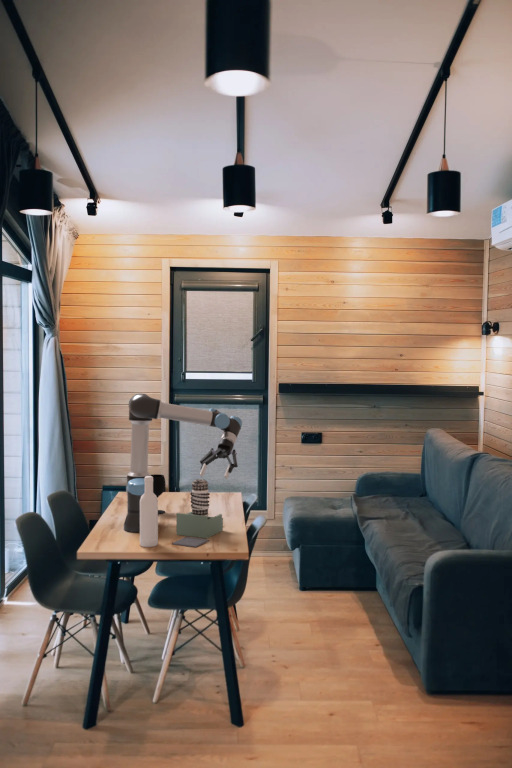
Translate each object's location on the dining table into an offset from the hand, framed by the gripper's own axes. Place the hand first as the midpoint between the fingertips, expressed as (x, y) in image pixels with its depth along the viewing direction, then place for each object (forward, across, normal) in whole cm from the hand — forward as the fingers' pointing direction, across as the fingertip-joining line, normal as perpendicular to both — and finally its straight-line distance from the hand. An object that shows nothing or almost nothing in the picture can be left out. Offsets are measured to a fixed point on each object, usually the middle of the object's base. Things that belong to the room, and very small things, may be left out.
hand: (213, 476), depth 311 cm
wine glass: (+8, +42, -27) cm, 51 cm away
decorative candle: (+26, +1, -9) cm, 28 cm away
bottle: (+46, +11, +11) cm, 48 cm away
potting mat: (+38, -4, +3) cm, 39 cm away
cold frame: (+26, +1, -9) cm, 28 cm away
